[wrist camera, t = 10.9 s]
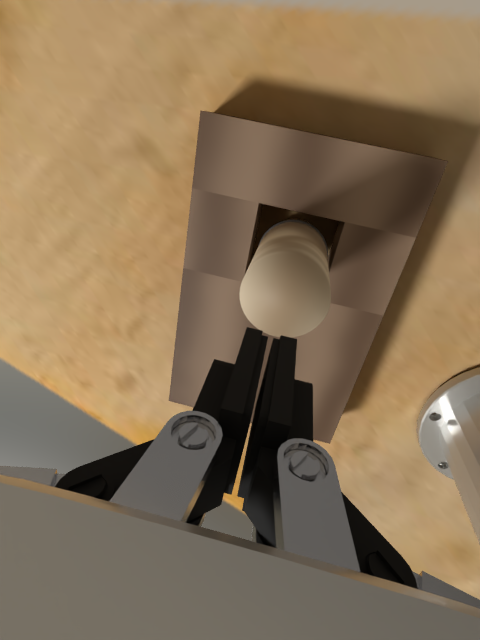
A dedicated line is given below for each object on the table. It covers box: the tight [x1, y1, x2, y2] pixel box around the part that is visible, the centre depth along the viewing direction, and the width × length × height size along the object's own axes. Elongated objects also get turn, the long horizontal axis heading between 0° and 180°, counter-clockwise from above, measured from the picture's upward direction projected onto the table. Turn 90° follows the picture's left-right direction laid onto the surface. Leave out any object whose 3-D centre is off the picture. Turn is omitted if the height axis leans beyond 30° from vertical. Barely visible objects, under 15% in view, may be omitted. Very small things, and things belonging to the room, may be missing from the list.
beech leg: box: [240, 218, 331, 337], centre depth 22 cm, size 4×4×10 cm
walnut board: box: [169, 111, 448, 444], centre depth 27 cm, size 14×22×3 cm, turn 170°
